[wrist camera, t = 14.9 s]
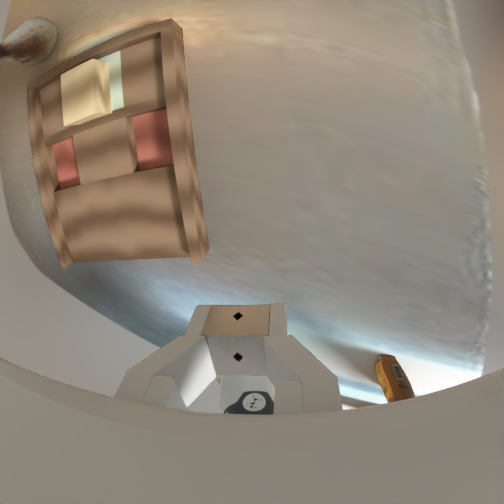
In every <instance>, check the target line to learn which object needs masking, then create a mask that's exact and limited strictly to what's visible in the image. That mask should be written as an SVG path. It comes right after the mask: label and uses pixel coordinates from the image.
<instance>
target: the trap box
mask: <svg viewBox="0 0 504 504" xmlns="http://www.w3.org/2000/svg"><path fill="white" fill-rule="evenodd" d="M91 59H96V60H100V61H104V62H108V63H109V81H110V95H111V106H112V113H111V114H108V115H105V116H102V117H99V118H96V119H94V120H91V121H88V122H86V123H83V124H80V125H70V126H64V122H63V111H62V96H61V75H62V74H63V73H65V72H67V71H69V70H71V69H73V68H75V67H77V66H78V65H80V64H82V63H85V62H87V61H89V60H91ZM27 101H28V119H29V130H30V140H31V148H32V155H33V161H34V167H35V173H36V178H37V183H38V188H39V193H40V197H41V201H42V206H43V210H44V213H45V217H46V221H47V225H48V228H49V231H50V235H51V238H52V241H53V244H54V247H55V250H56V253H57V256H58V259H59V262H60V265H61V268H67V267H68V266H69V265H71V264H72V263H73V262H91V261H112V260H132V259H152V258H172V257H190V258H191V263H198V262H202V261H203V260H204V258H205V256H206V254H207V252H208V250H209V243H208V237H207V231H206V225H205V219H204V213H203V206H202V200H201V193H200V186H199V179H198V172H197V165H196V158H195V150H194V142H193V134H192V126H191V117H190V108H189V99H188V90H187V79H186V69H185V57H184V44H183V30H182V28H181V27H180V26H179V25H178V24H177V23H176V22H175V21H174V20H172V19H167V20H164V21H161V22H157V23H154V24H151V25H148V26H145V27H142V28H139V29H136V30H134V31H131V32H128V33H126V34H123V35H121V36H118V37H116V38H113V39H111V40H109V41H106V42H104V43H102V44H100V45H97V46H95V47H93V48H91V49H89V50H87V51H85V52H83V53H81V54H79V55H77V56H75V57H73V58H72V59H70V60H68V61H66V62H64V63H63V64H61V65H59V66H57V67H56V68H54V69H52V70H51V71H49V72H48V73H46V74H44V75H43V76H41V77H40V78H38V79H37V80H35V81H34V82H32V83H31V84H29V85H28V86H27Z"/></svg>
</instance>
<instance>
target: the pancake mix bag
mask: <svg viewBox="0 0 504 504" xmlns="http://www.w3.org/2000/svg"><path fill="white" fill-rule="evenodd" d="M379 358H380V360H379V361H378V362H377V363H376V373H377V377H378V380H379V383H380V385H381V388H382V390H383V392H384V394H385V397H386V399H387V401H388V403H391V402H396V401H401V400H405V399H410V398H414V397H415V395H414V392H413V389H412V387H411V384H410V382H409V380H408V378H407V376H406V374H405V373H404V371H403V369H402V368H401V366H400V364H399V363H398V362H397V360H396V358H395V356H391V355H380V356H379Z"/></svg>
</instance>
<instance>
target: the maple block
mask: <svg viewBox="0 0 504 504" xmlns="http://www.w3.org/2000/svg"><path fill="white" fill-rule="evenodd" d="M61 96H62V111H63V122H64V126H70V125H80V124H83V123H86V122H88V121H91V120H94V119H96V118H99V117H102V116H105V115H108V114H111V113H112V106H111V95H110V81H109V63H108V62H104V61H100V60H96V59H91V60H89V61H87V62H85V63H82V64H80V65H78V66H77V67H75V68H73V69H71V70H69V71H67V72H65V73H63V74H62V75H61Z"/></svg>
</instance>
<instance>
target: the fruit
mask: <svg viewBox="0 0 504 504" xmlns="http://www.w3.org/2000/svg"><path fill="white" fill-rule="evenodd" d="M56 41H57V28H56V26H55V25H54V24H53V23H52V22H51V21H49V20H48V19H45V18H42V17H36V18H32V19H29V20H27V21H26V22H24V23H22V24H21V25H20V26H19V27H18V28H17V29H16V30H15V31H13V32H12V33H11V34H9V35H8V36H7V37H6V38H5V39H4V40H3V41H2V42H1V44H0V58H1V59H2V60H5V61H8V62H10V63H11V64H13V65H16V66H29V65H33V64H36V63H38V62H40V61H42V60H43V59H45V58H46V57H47V56H48V55H49V54H50V53H51V51H52V49H53V47H54V45H55V43H56Z"/></svg>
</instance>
